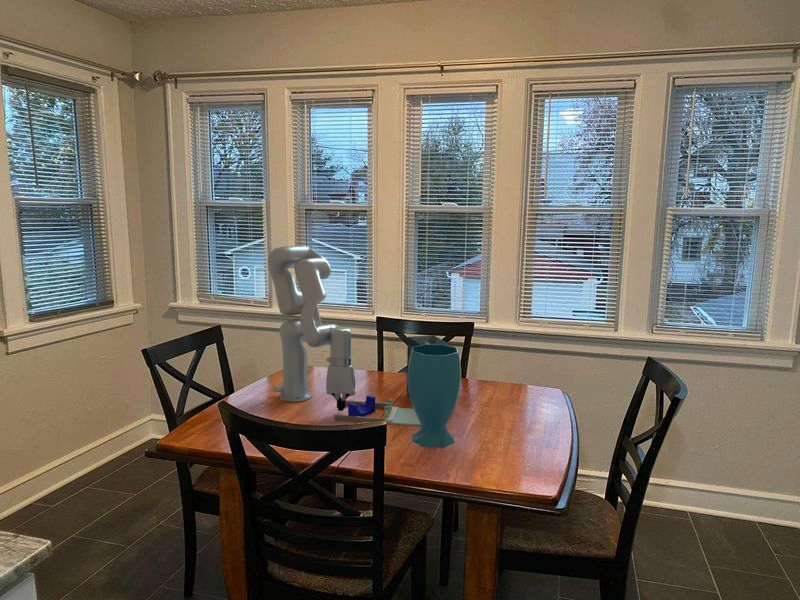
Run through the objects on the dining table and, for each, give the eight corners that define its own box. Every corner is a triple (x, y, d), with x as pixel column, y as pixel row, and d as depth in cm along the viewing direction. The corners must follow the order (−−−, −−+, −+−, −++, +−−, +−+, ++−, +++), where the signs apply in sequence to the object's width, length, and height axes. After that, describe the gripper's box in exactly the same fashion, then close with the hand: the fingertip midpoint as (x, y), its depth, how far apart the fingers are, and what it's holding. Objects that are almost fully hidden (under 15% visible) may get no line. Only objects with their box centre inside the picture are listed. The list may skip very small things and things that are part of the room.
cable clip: (365, 409, 208) (365, 394, 207) (375, 412, 206) (375, 396, 205) (344, 419, 198) (344, 403, 197) (354, 421, 196) (354, 405, 195)
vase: (407, 428, 190) (408, 343, 185) (457, 429, 189) (460, 344, 185) (406, 449, 173) (407, 355, 168) (461, 450, 172) (464, 356, 168)
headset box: (455, 408, 210) (457, 342, 206) (425, 411, 206) (427, 344, 202) (432, 390, 231) (433, 330, 227) (405, 393, 227) (406, 331, 223)
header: (334, 421, 195) (334, 408, 195) (346, 405, 212) (346, 393, 211) (426, 427, 191) (426, 414, 190) (430, 410, 207) (431, 398, 206)
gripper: (317, 363, 198) (318, 412, 201) (358, 365, 196) (358, 414, 199) (324, 358, 206) (324, 405, 208) (363, 359, 203) (363, 407, 206)
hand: (341, 409), depth 203 cm, fingers closed
